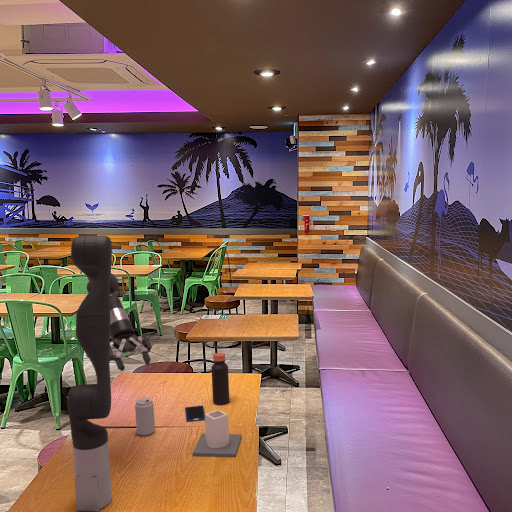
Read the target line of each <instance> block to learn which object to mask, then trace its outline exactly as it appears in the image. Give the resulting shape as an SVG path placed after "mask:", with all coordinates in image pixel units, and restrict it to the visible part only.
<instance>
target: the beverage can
mask: <svg viewBox="0 0 512 512" xmlns="http://www.w3.org/2000/svg"><path fill="white" fill-rule="evenodd" d="M134 408H135V409H134V411H135V424H136V432H137V434H138V435H139V436H144V437H145V436H150V435H152V434H153V433H154V432H155V430H156V429H155V428H156V427H155V426H156V425H155V424H156V423H155V411H154V409H155V407H154V402H153V399H152V398H151V397H142V398H138V399H136V400H135V404H134Z"/></svg>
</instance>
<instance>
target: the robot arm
mask: <svg viewBox="0 0 512 512" xmlns="http://www.w3.org/2000/svg"><path fill="white" fill-rule="evenodd" d="M70 253H71V255H70V257H71V261H72V262H73V265H74V266H75V267H76V268H77V269H78V270H79V271H80V272H82V273H83V274H84V275H85V276H86V277H87V279H88V282H87V283H86V284H87V285H86V292H87V294H86V296H85V297H84V298H83V300H82V301H81V303H80V305H79V307H78V309H77V311H76V314H75V318H76V319H75V337H76V339H77V341H78V343H79V345H80V347H81V349H82V350H83V352H84V353H85V354H86V355H87V357H88V359H89V361H90V363H91V364H92V366H93V370H94V372H95V375H96V376H95V377H96V382H97V383H89V384H75V385H73V386H71V387H70V389H69V392H68V394H67V409H68V410H67V411H68V418H69V427H70V434H71V435H70V436H71V440H72V449H73V450H72V451H73V465H74V466H73V467H74V487H75V488H74V489H75V490H74V491H75V501H76V502H75V503H76V511H78V512H79V511H81V512H99V511H101V509H103V508H105V507H107V506H108V505H109V504H110V503H112V500H113V492H112V478H111V477H112V476H111V464H110V463H111V462H110V461H111V460H110V448H109V447H110V446H109V433H108V429H107V428H105V426H102V425H100V424H97V423H93V422H92V421H90V420H101V419H106V418H108V417H109V415H110V413H111V409H112V386H111V385H112V384H111V369H110V367H111V366H110V364H111V363H110V362H112V361H113V362H115V364H116V366H117V369H118V370H120V372H123V371H124V370H125V368H126V367H125V365H124V362H123V359H122V357H121V354H122V353H123V354H125V353H128V352H129V353H130V352H131V353H132V352H133V351H134V352H136V353H138V354H140V355H142V359H143V362H144V364H145V365H146V366H149V364H150V362H151V361H152V359H151V357H150V355H149V353H150V352H151V350H152V349H153V347H152V344H151V343H150V340H149V339H148V336H147V335H146V334H145V333H142V335H140V336H137V335H136V333H135V330H134V327H133V325H132V322H131V320H130V318H129V315H128V314H127V312H126V310H125V309H124V306H123V304H122V301H121V299H120V297H119V296H116V295H114V294H115V293H116V292H117V291H119V288H120V283H119V280H118V279H117V277H116V275H114V274H113V273H112V259H113V245H112V240H111V238H110V237H109V236H108V235H78V236H76V237H74V238H73V239H72V242H71V246H70ZM113 347H114V349H116V350H117V351H116V353H115V354H114V352H113V349H112V348H113Z"/></svg>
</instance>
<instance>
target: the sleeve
mask: <svg viewBox="0 0 512 512" xmlns="http://www.w3.org/2000/svg"><path fill="white" fill-rule="evenodd" d="M204 427H205V428H204V431H205V434H206V443H207V444H209V445H210V446H212V447H214V448H215V449H216V448H218V447H221V446H223V445H226V444H229V434H230V433H229V431H230V430H229V429H230V427H229V414H228V413H227V412H224V411H222V410H221V409H217V410H212V411H210V412H207V413H205V420H204Z"/></svg>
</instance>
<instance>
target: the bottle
mask: <svg viewBox="0 0 512 512" xmlns="http://www.w3.org/2000/svg"><path fill="white" fill-rule="evenodd" d="M212 357H213V358H212V359H213V364H212V365H211V366H210V367H211V386H212V388H211V389H212V390H211V391H212V403H213V404H214V405H216V404H217V406H223V404H224V405H227V404H229V403H230V382H229V366H228V364H227V363H226V362H225V361H226V353H224V352H217V353H214V354H213V356H212Z"/></svg>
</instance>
